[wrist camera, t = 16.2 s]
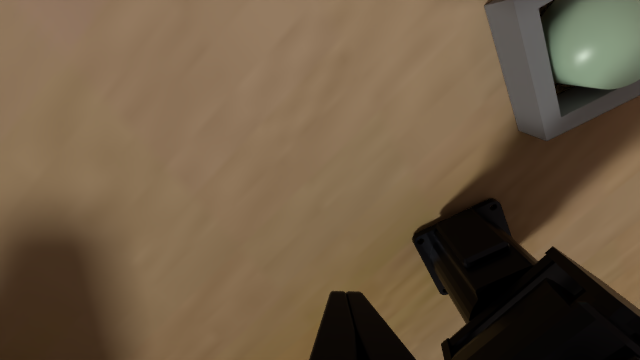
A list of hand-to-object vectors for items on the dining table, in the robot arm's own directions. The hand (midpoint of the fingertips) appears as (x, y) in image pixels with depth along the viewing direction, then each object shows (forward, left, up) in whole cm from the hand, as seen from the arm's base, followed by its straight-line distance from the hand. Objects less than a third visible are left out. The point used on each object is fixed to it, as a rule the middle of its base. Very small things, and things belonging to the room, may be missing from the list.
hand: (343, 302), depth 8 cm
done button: (-1, -16, -12) cm, 20 cm away
